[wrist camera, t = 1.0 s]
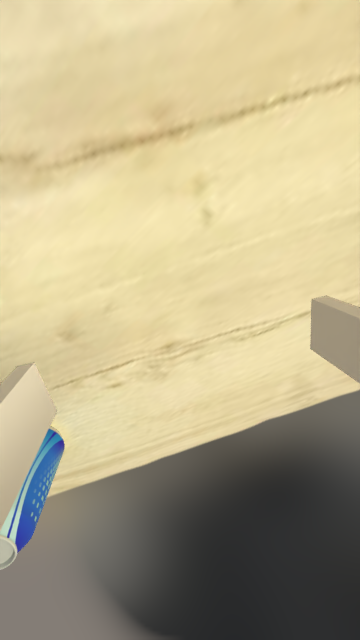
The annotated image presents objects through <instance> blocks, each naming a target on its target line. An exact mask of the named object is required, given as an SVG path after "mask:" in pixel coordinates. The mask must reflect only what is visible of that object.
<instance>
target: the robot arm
mask: <svg viewBox="0 0 360 640" xmlns="http://www.w3.org/2000/svg"><path fill="white" fill-rule="evenodd" d="M310 349H311V350H313V351H314V352H316V353H317V354H319V355H320V356H321V357H323V358H324V359H326V360H327V361H329V362H330V363H331V364H333V365H334V366H336V367H337V368H339V369H340V370H341V371H343V372H344V373H346V374H347V375H349V376H350V377H351V378H353V379H354V380H356V381H357V382H359V383H360V307H357V306H354V305H352V304H349V303H346V302H343V301H340V300H337V299H335V298H332V297H329V296H323V297H318V298H314V299H312V302H311V344H310ZM56 412H57V409H56V407H55V405H54V403H53V401H52V399H51V396H50V394H49V392H48V390H47V388H46V386H45V384H44V382H43V380H42V377H41V375H40V373H39V371H38V369H37V367H36V365H35V363H30V364H25V365H21V366H17V367H16V368H15V369H14V370H13V371H12V372H11V373H10V374H9V375H8V376H7V377H6V378H5V380H4V381H3V382H2V383H1V384H0V531H1V528H2V526H3V524H4V522H5V520H6V518H7V516H8V514H9V512H10V509H11V507H12V505H13V503H14V501H15V499H16V497H17V495H18V493H19V490H20V488H21V486H22V484H23V482H24V480H25V478H26V476H27V474H28V471H29V469H30V467H31V465H32V463H33V461H34V459H35V457H36V455H37V452H38V450H39V448H40V446H41V444H42V442H43V440H44V438H45V436H46V433H47V431H48V429H49V427H50V425H51V423H52V421H53V419H54V417H55V414H56Z"/></svg>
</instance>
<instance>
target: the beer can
mask: <svg viewBox="0 0 360 640" xmlns="http://www.w3.org/2000/svg"><path fill="white" fill-rule="evenodd" d="M63 451H64V441H63V439H62V436H61V434H60V433H59V431H58V430H56V429H55V428H54V427H52V426H50V427H49V429H48V431H47V433H46V436H45V438H44V440H43V442H42V444H41V446H40V448H39V450H38V452H37V455H36V457H35V459H34V461H33V463H32V465H31V467H30V469H29V471H28V474H27V476H26V478H25V480H24V482H23V484H22V486H21V488H20V490H19V493H18V495H17V497H16V499H15V501H14V503H13V505H12V507H11V509H10V512H9V514H8V516H7V518H6V520H5V522H4V524H3V526H2V528H1V531H0V570H1V569H3V568H5V567H7V566H9V565H10V564H11V563H12V562H13V561H14V559H15V558H16V555H17V553H18V552H19V551H20V550H21V549H22V548H23V547H24V546H25V545H26V544H27V543H28V541H29V540H30V539H31V537H32V535H33V533H34V530H35V528H36V525H37V522H38V519H39V516H40V514H41V511H42V508H43V506H44V503H45V500H46V498H47V495H48V492H49V489H50V487H51V484H52V481H53V479H54V476H55V473H56V470H57V468H58V465H59V462H60V460H61V457H62V454H63Z"/></svg>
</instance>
